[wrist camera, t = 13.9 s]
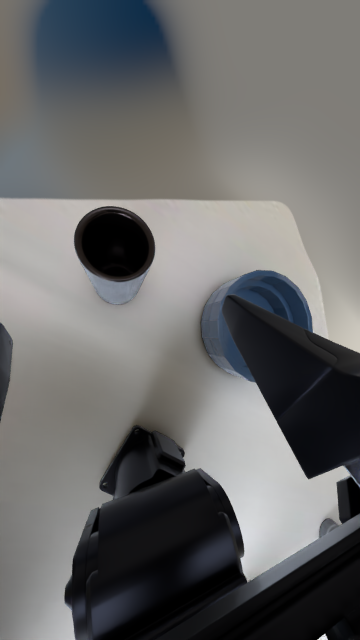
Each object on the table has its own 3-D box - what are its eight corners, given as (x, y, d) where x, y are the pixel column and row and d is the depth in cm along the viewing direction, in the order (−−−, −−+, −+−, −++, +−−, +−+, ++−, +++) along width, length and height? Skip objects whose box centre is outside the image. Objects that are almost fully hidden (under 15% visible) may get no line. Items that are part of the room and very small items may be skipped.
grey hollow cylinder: (146, 276, 23) (168, 234, 13) (125, 312, 22) (132, 296, 12) (108, 254, 22) (100, 189, 12) (85, 290, 21) (56, 253, 11)
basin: (257, 392, 26) (284, 404, 22) (181, 342, 23) (195, 344, 19) (295, 314, 28) (327, 311, 24) (230, 261, 26) (253, 247, 22)
